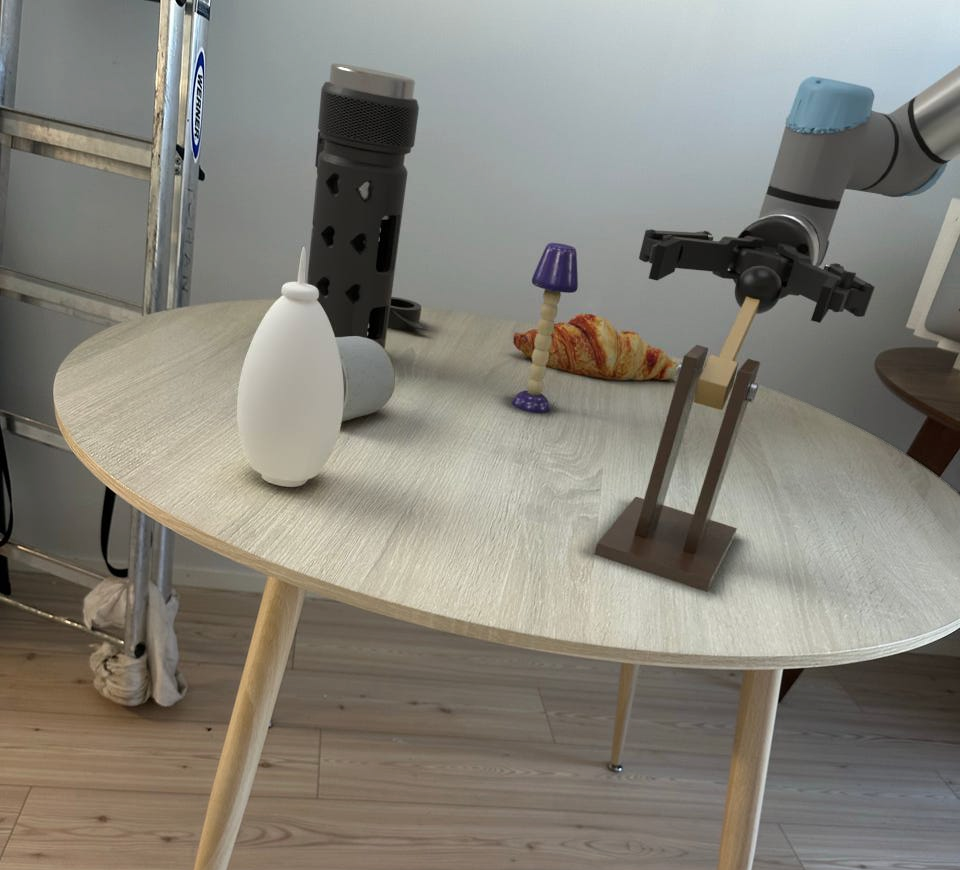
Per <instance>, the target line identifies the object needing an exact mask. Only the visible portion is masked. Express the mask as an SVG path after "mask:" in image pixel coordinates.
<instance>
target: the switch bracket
mask: <svg viewBox="0 0 960 870" xmlns="http://www.w3.org/2000/svg"><path fill="white" fill-rule="evenodd" d="M708 352H709V347H707V346H703V345H700V344H695V345H694V346H693V347H692V348H691V349H689V351H688V352H686V353H685V354H684V355H683V358H682V362H681V361H680V362H678V364H679V365H678V367H677V370H676V373H675V376H674V377H673V381H674V382H676V383H675V387H674V390H673V394H672V397H671V402H670V405H669V408H668V411H667V416H666V419H665V423H664V426H663V430H662V434H661V437H660V440H659V445H658V448H657V452H656V455H655V459H654V463H653V466H652V470H651V473H650V477H649V480H648V483H647V488H646V491H645V494H644V498H642V497H639V496H634V498H633V499H632V500H631V502H630V503H629V504H628V505H627V507H626V508H625V509H624V510H623V511H622V512H621V514H620V515H619V516H618V517H617V519H616V520H615V521H614V522H613V523H612V525H611V526H610V527H609V528H608V529H607V530H606V532H605V533H604V534H603V535H602V537H601V538H600V539H599V540H598V541H597V543H596V546H595V549H594V553H593V554H594V556H597V557H601V558H604V559H607V560H610V561H613V562H616V563H618V564H622V565H625V566H628V567H631V568H634V569H637V570H640V571H643V572H646V573H649V574H652V575H655V576H658V577H661V578H664V579H667V580H670V581H673V582H676V583H679V584H682V585H685V586H688V587H691V588H694V589H696V590H700V591H703V592H705V593H706V592H708V591H709V589H710V587H711V584H712V583H713V581H714V578H715V576H716V575H717V573H718V570H719V569H720V567H721V564H722V563H723V561H724V559H725V557H726V555H727V553H728V550H729V549H730V547H731V545H732V543H733V541H734V539H735V536H736V532H737V530H738V528H737V527H734V526H732V525H728V524H724V523H721V522H719V521H715V520H712V517H713V514H714V510H715V507H716V505H717V501H718V497H719V496H720V492H721V490H722V489H721V488H722V486H723V482H724V479H725V476H726V472H727V470H728V467H729V463H730V461H731V456H732V455H733V451H734V448H735V444H736V441H737V438H738V435H739V432H740V428H741V426H742V423H743V420H744V416H745V413H746V410H747V407H748V404H749V403H753V402H754V401H755V398H756V395H757V392H758V389H759V383H757V382H755V381H756V379H757V375H758V372H759V369H760V365H761V362H760V361H758V360H755V359H751V358H747V359H746V361H744V362H743V364H742V365H741V366H740V367H739V369H737V371H736V375H735V379H734V383H733V387H732V389H731V391H730V394H729V397H728V398H729V399H728V402H727V405H726V408H725V411H724V414H723V417H722V421H721V424H720V428H719V431H718V435H717V437H716V440H715V443H714V447H713V451H712V454H711V457H710V460H709V464H708V467H707V469H706V473H705V477H704V480H703V483H702V486H701V489H700V493H699V496H698V499H697V503H696V506H695V509H694V511H693V514H692V513H689V512H687V511H683V510H680V509H678V508H674V507H670V506H667V505H664V504H665V501H666V497H667V493H668V490H669V487H670V483H671V479H672V476H673V473H674V469H675V466H676V462H677V460H678V455H679V452H680V449H681V445H682V443H683V438H684V435H685V432H686V428H687V424H688V421H689V418H690V414H691V412H692V407H693V404H694V399H695V394H696V389H697V383H698V379H699V377H700V374H701V372H702V370H703V368H704V366H705V364H706V360H707V355H708Z"/></svg>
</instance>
